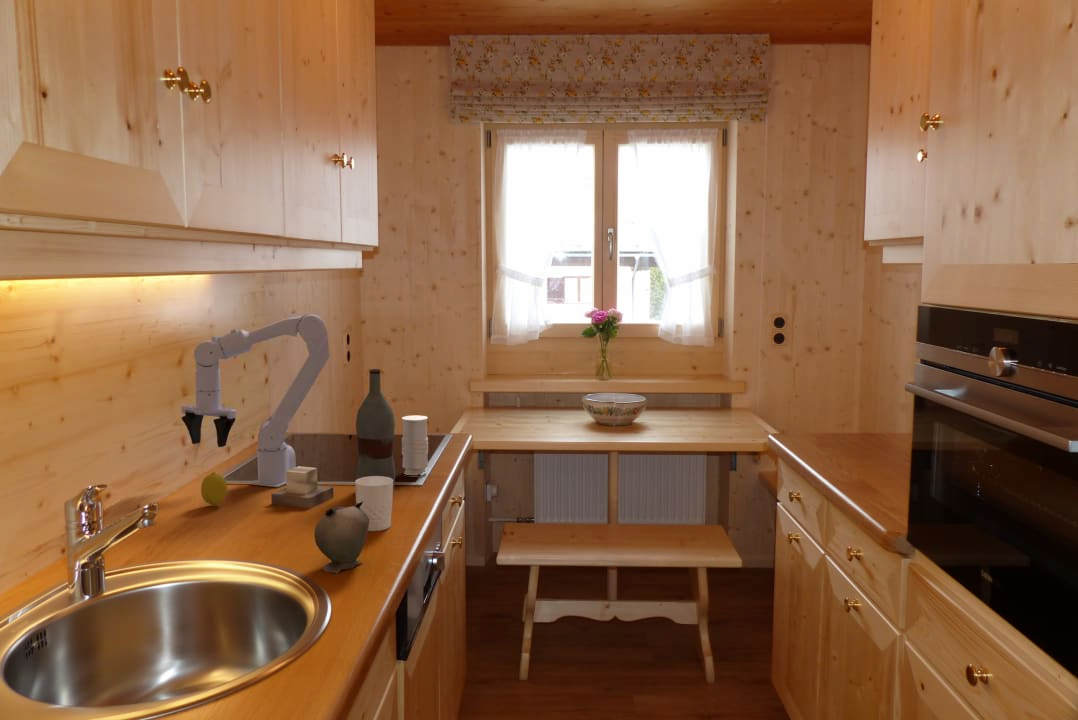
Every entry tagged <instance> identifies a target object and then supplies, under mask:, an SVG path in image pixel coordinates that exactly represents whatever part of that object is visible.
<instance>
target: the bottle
mask: <svg viewBox="0 0 1078 720" xmlns="http://www.w3.org/2000/svg"><path fill="white" fill-rule="evenodd" d="M368 372H369V378H368V379H369V380H368V381H369V390H368V391H369V392H368V393H367V395H366V397H365V398H364V399H363V401H362V404H360V407H359V408H358V410H357V413H356V414H357V415H356V419H355V421H356V422H355V430H356V439H357V449H358V451H357V452H358V461H357V468H356V478H355V479H356V480H357V479H359V478H363V477H369V476H384V477H389V478H391V479H393V489H394V487H395V481H396V470H395V469H396V468H395V461H394V456H393V453H394V440H395V439H394V438H395V430H396V429H395V427H396V422H395V415H394V411H393V408H392V406H391V405H390V403H389V401H388V400H387V398H386V397H385V396H384V394H383V393H382V386H381V385H382V384H381V368H371V369H369V370H368Z"/></svg>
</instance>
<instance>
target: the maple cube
mask: <svg viewBox="0 0 1078 720" xmlns="http://www.w3.org/2000/svg"><path fill="white" fill-rule="evenodd" d="M285 485H286V487H285V488H287V492H288V493H297V494H307V493H309V492H312V491H314V490H316V489H317V485H318V468H317V467H309V466H299V465H298V466H296V467H295V468H293V469H290V470H288V471H286V484H285Z"/></svg>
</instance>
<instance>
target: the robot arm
mask: <svg viewBox="0 0 1078 720" xmlns="http://www.w3.org/2000/svg"><path fill="white" fill-rule="evenodd" d="M298 334H299V336H300V337H301V339H302V340H303V341H304V343H305V345H306V348H307V351H308V356H307V358H306V359H305V361H304V363H303V364H302V366H301V368H300V369H299V370H298V372H297V374H296V376H295V378H294V379H293V381H292V382H291V383H290V386H289V387H288V389H287V391H286V392H285V393H284V396H282V399H281V400H280V402H279V403H278V405H277V407H276V408H275V410H274V411H273V413H272V414H271V416H269V418H267V419H266V420H264V421H262V423H261V425H260V426H259V427H260V428H259V432H258V434H257V441H258V445H257V446H256V447H257V448H256V450H257V451H256V452H257V453H256V454H257V480H253V481H251V482H250V485H254V486H264V487H270V488H279V487H281V486H284V485H286V471H288V470H290V469H293V468H295V467H297V466H296V465H297V463H296V462H297V461H296V452H295V450H294V448H293V447H292V446H291V445H289V444H288V443H286V442H285V439H286V432H287V430H288V428H289V426H290V425H291V422H292V420H293V419H294V416H295V415H296V413H297V412H298V410H299V408H300V406H301V405H302V403H303V402H304V400H305V398H306V397H307V395H308V394H309V392H310V391H311V389H312V387H313V385H314V384H315V382H316V380H317V379H318V378H319V376H320V373H321V372H322V370H323V369H324V368H325V365H326V364H327V362H328V360H329V358H330V347H329V332H328V329H327V327H326V324H325V322H324V320H323V319H322V317H321V316H319V314H316V313H313V312H312V313H311V312H309V313H305V314H304V315H296V316H291V317H287V318H284V319H281V320H279V321H276V322H273V323H271V324H268V325H265V326H262V327H260V328H257V329H255V330H252V331H246V330H245V329H242V328H241V329H239V330H238V329H237V328H233V329H231V330H230V332H229V333H226V334H223V335H220V336H216V335H214V336H211V337H210V338H211V340H209V339H208V340H204V341H202V342H200V343H199V344H198V345H197V346H196V347H195V349H194V351H193V357H194V360H195V361H196V362H195V374H194V375H195V405H194V404H192V405H191V404H186V405H182V406H181V415H184V416H181V421H182V422H183V423H184V424H185V427H186V429H187V431H188V434H189V437H190V440H191V443H192V445H197V444H200V443H201V441H202V439H201V438H202V423H203V419H204V416H206V417H207V416H208V417H217V418H214V419H213V424H214V426H215V427H214V428H215V430H216V441H217V442H216V443H217V447H218V448H222V447H226V446H227V442H228V439H229V434H230V431H231V429H232V427H233V425H234V424H235V421H236V418H237V410H236V409H232V408H227V407H223V406H222V398H221V397H222V394H221V393H222V392H221V387H222V386H221V385H222V383H221V379H222V378H221V370H220V360H228V359H230V358H234V357H237V356H240V355H242V354H245V353H249V352H251V350H252V348H253V345H256V344H258V343H262V342H265V341H268V340H271V339H274V338H278V337H282V336H284V335H285V336H290V337H298Z"/></svg>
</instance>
